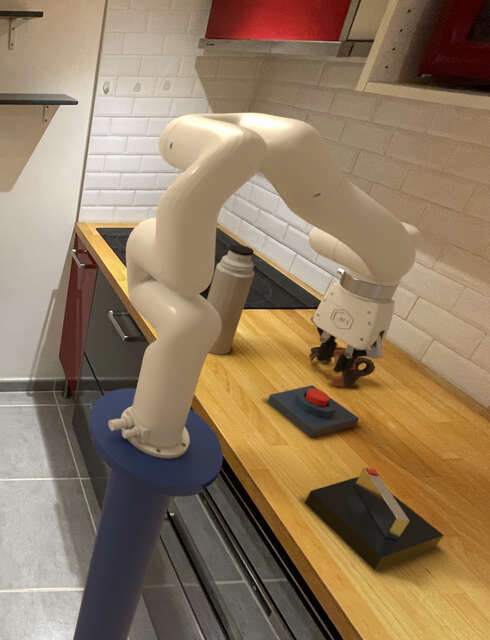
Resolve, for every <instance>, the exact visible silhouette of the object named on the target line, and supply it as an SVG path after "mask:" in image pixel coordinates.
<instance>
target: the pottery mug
mask: <svg viewBox="0 0 490 640" xmlns="http://www.w3.org/2000/svg"><path fill="white" fill-rule="evenodd" d="M319 348H320V346H314V347H311V348H309V349H310V354H309V355H308V358H309V361H310V362H311V363H312V362H313V361H314V359H316V358H317V356H318V350H319ZM345 350H346V347H341V346H336V349H335V351H334V353H333V356H332V358H334V359H333V360H334V365H336V363H337V361H338V358H339V356H340V355H342V354H344V353H345ZM332 358H331V359H329V360H325V361H320V362H321V363H322V364H324V365H327V364H328V363H331V362H332ZM363 364H365V367H364V368H362V369H359V366H360V365H363ZM375 369H376V366H375V362H374V361H372V359H371V358H368V357H365V356H363V357H356V359H355V362H354V364H353V366H352V368H351V369H350V370H349V371H343V372H341V375H340V376H336V375H335V376H331V383H332V386H333V387H339V388H340V387H346V388H348V387H349V388H351V387H355V386H356V383H357V381H358V379H360V378H362V377H366V376H370V375H371V374H372V373H374V371H375Z"/></svg>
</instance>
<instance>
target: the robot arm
mask: <svg viewBox="0 0 490 640" xmlns="http://www.w3.org/2000/svg"><path fill="white" fill-rule="evenodd" d="M158 151H159V154H160V157H161V158H162V159H163V161H165V162H166V163H167V164H168V165H170V166H172V167H173V168H175V169H178V170H180V171H183V172H182V173H181V174H180V175H179V176H178V177H177V178H176V179H175V180H174V181H173V182H172V183H171V184H170V185H169V186H168V188H166V190H165V191H164V192H163V193H162V195H161V196H160V198H159V201H158V203H157V206H156V211H155V217H152V218H147V219H145V220H142V221H141V222H139V223H138V224H137V225H136V226H135V227H134V228H133V229H132V231H131V232H130V234H129V236H128V239H127V242H126V246H125V265H126V266H125V267H126V268H125V269H126V281H127V294H128V298H129V301H130V303H131V305H132V306H133V308H134V309H135V310H136V311H137V313H138V314H140V315H141V316H142V317H143V318H144V320H146V321H147V322H148V323H149V325H150V326H151V327H152V328H153V329H154V330H155V332H156V334H157V338H156V339H155V340H154V341H152V342H151V343H150V344H149V345H148V346H147V347H146V348H145V350H144V353H143V358H142V363H141V368H140V372H139V375H138V379H137V380H138V381H137V385H136V388H135V389H136V393H135V397H134V401H133V406H131V407H129V408H127V409H126V410H125V411H124V412H123V413H122V416H121V419H114V420H109V422H108V425H109V428H110V430H112V431H115V430H119V429H122V435H123V437H124V438H127V440H128V441H129V442H130V443H131V444H132V445H134V446H135V447H136V448H138V449H139V450H141V451H143V452H144V453H146V454H149V455H152V456H155V457H159V458H166V459H168V458H176V457H179V456H181V455H183V454H184V453H185V452H186V451H187V449H188V446H189V443H190V437H189V433H188V431H187V429H186V428H185V423H186V420H187V417H188V413H189V410H190V409H191V406H192V403H193V399H194V396H195V393H196V390H197V386H198V384H199V383H198V382H199V379H200V376H201V372H202V370H203V367H204V364H205V362H206V359H207V357H208V354H209V353H210V352H209V351H210V349H211V348H212V346H213V344H214V343H215V341H216V340H217V338H218V336H219V334H220V332H221V328H222V323H221V318H220V316H219V314H218V312H217V311H216V309H215V308H214V307H213V306H212V305H211V304H210V303H209V302H208V301H207V298H205V297H204V296H202V295H201V293H203V292H204V291H206V290H207V289H208V287H210V285H211V284H212V281H213V277H214V273H215V263H216V240H217V226H218V217H219V214H220V212H221V210H222V208H223V206H224V205H225V204H226V202H228V200H229V199H231V197H232V196H233V195H234V194H235V193H236V192H237V191H238V190H240V188H242V187H243V186H244V185H245V184H247V183H248V182H250V181H251V180H252V178H253V177H254V176H256V174H257V173H259V172H260V173H261V174H262V175H263V176H264V177H265V178H266V179H267V181H268V182H269V183H270V184H271V187H273V189H274V190H275V191H276V193H277V194H278V195H279V197H280V198H281V200H282V202H284V204H285V205H286V207H287V208H288V209H289V211H291V212H292V213H293V214H295V215H296V216H297V217H299V218H300V219H302V220H303V221H304V222H306V223H307V224H309V225H311V226H312V227H313V228H312V229H311V230H310V232H309V234H308V244H309V246H310V248H311V249H312V250H313V251H314V252H315V253H317V254H318V255H319V256H320V257H321V256H322V257H323V258H326V259H328V260H330V261H332V262H334V263H336V264H338V265H341V266H343V267H339V268H338V269H337V271H336V273H337V274H338V275H339V276H340V280H336V281H334V282H333V284H332V285H331V286H330V287H329V289H328V290H327V292H326V293H325V295H323V298H322V299H321V301H320V303H319V305H318V307H317V308H316V311H315V312H314V315H313V316H312V317H310V322H311V323H312V324H313V326H314V327H315V328H316V330H317V332H318V335H319V341H320V345H319V347H320V348H319V350H318V356H317V357H315V359H316V360H317V361H318V362H321V361H325V360H329V359H332V358H333V357H332V356H333V353H334V351H335V349H336V347H338V342H336V340H337V339H338V340H339V341H342V343H344V344H346V347H345V348H346V350H345V353H344V354H342V355H340V356H339V358H338V361H337V363H336V364H334V367H333V371H334V372H335V373H337V374H339V373H342V372H343V371H349V370H350V369H351V368H352V366H353V364H354V362H355V359H356V357H364V358H369V359H381V358H384V356H385V355H384V350H383V343H384V342H385V341H384V340H385V338H386V336H387V334H388V332H389V329H390V326H391V323H392V320H393V316H394V311H395V303H396V301H395V300H394V299H393V297H394V295H395V293H396V291H397V289H398V287H399V284H400V282H401V280H402V278H403V277H404V276H406V275H407V274H408V273H409V272H410V271H411V269H412V268H413V267H414V264H415V261H416V258H417V257H416V256H417V255H416V253H417V252H416V249H417V247H418V245H419V243H420V240H421V236H422V233H421V231H420V230H419V229H418V228H417V227H416V226H414V225H412V224H409V223H408V222H407V223H406V222H403V221H400V220H399V219H398V218H397V216H395V215H394V214H393V213H392V212H391V211H389V210H388V209H386V208H385V207H384V206H383V205H381V204H380V203H379V202H378V201H376V200H375V199H373V198H372V197H371V196H370V195H368V193H367V192H365V191H363V190H362V189H361V188H359V187H358V186H357V185H356V184H354V183H352V182H351V180H350V179H348V176H347V175H346V174H345V172H344V171H343V169H342V167H341V166H340V164H339V162H338V161H337V159H336V158H335V156H334V154H333V153H332V151H331V149H330V148H329V146H328V144H327V143H326V141H325V139H324V138H323V136H322V135H321V134H320V132H319V131H318V130H317V129H316V127H314V126H312V124H310V123H307V122H306V121H303V120H299V119H295V118H289V117H284V116H278V115H273V114H268V113H260V112H233V113H232V112H229V113H191V114H185V115H182V116H179V117H177V118H174V119H173V120H171V121H170V122H169V123H168V124H167V125H166V126H165V127H164V128H163V130H162V132H161V134H160V136H159V139H158ZM344 267H345V268H344Z"/></svg>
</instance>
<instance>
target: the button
mask: <svg viewBox="0 0 490 640" xmlns="http://www.w3.org/2000/svg"><path fill="white" fill-rule="evenodd" d="M329 397H330V396H329V395H328V394H327V393H326V392H324V391H323V390H320V389H319V390H318V388H317V389H309V390H308V392H307V394H306V396H305V398H306V400H308V401H309V402H311V403H312V404H315V405H317V406H321V407H325V406H326V405H327V403H328V401H329Z"/></svg>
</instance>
